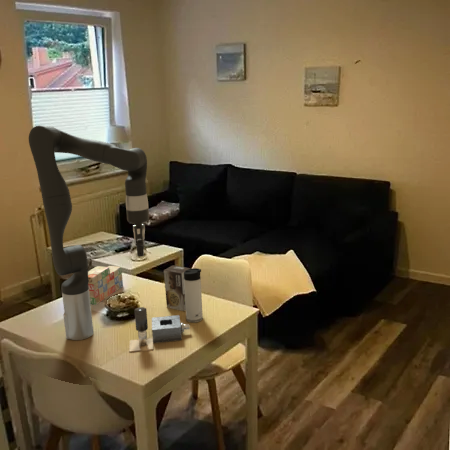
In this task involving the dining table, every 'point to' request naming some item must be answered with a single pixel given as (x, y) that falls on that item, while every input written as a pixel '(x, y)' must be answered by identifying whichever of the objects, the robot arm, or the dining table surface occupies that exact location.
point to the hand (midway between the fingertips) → (140, 252)
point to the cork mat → (135, 346)
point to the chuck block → (167, 328)
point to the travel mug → (193, 295)
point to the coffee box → (175, 287)
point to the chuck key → (141, 325)
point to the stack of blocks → (103, 282)
